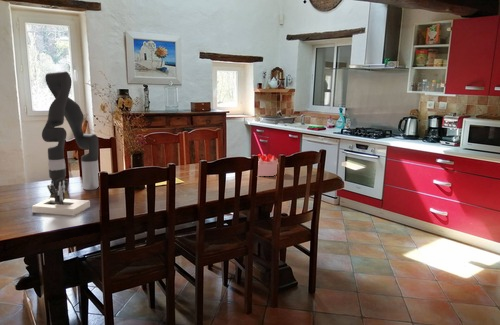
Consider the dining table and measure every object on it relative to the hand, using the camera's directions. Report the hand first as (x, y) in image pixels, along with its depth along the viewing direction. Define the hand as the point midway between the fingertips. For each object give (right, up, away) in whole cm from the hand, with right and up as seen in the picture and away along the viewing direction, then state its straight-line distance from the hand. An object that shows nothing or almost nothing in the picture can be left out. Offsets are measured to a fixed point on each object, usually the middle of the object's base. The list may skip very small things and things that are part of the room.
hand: (59, 201), depth 191 cm
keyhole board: (+1, -5, +1) cm, 5 cm away
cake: (+106, +11, +88) cm, 138 cm away
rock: (-9, -1, +17) cm, 19 cm away
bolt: (0, -4, +1) cm, 4 cm away
